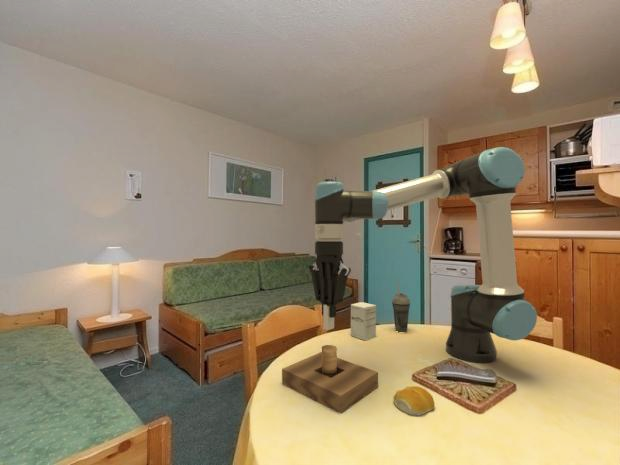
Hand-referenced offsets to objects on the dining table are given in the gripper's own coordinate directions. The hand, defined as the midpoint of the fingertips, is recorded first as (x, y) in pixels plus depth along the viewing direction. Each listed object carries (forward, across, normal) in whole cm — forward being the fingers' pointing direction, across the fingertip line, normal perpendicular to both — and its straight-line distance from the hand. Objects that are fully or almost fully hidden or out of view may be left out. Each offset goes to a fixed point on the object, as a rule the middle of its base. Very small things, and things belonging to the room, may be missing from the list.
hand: (328, 328), depth 81 cm
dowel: (+15, 0, 0) cm, 15 cm away
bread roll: (+16, +21, +6) cm, 27 cm away
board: (+15, 0, 0) cm, 15 cm away
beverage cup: (+15, -7, +55) cm, 58 cm away
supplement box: (+15, -15, +39) cm, 45 cm away
